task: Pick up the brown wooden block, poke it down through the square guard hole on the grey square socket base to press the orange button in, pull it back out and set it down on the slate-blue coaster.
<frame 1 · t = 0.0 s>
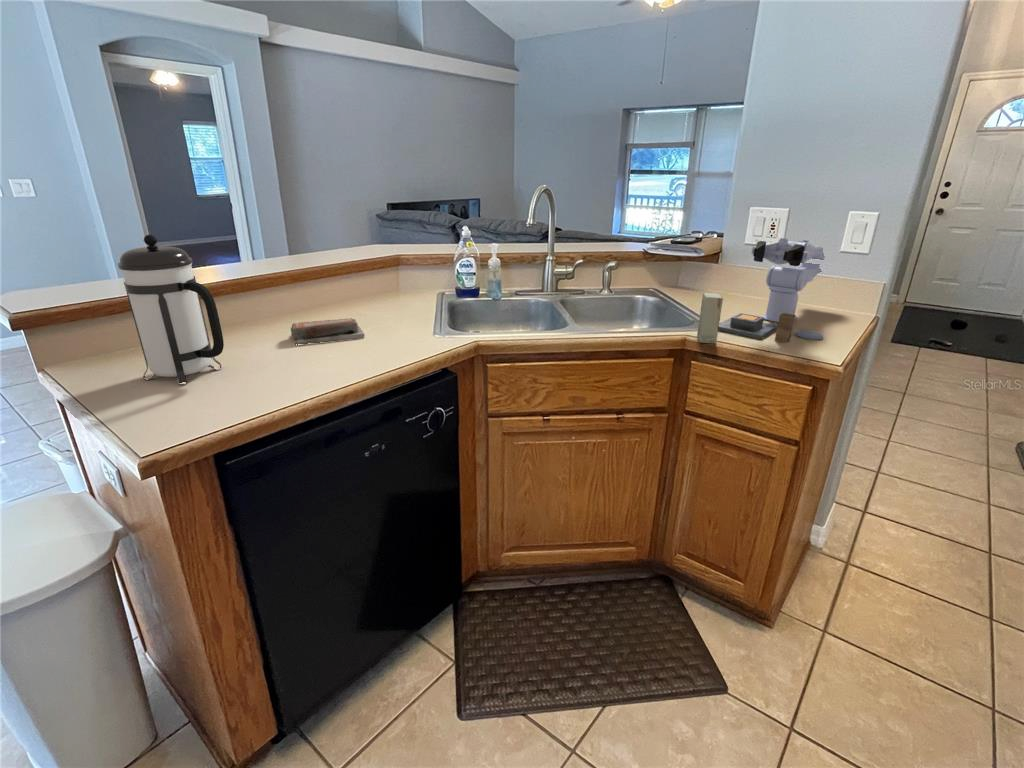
hand: (769, 254, 140), 22 cm above the table, tool horizontal, fingers open, 7 cm apart
orange button: (747, 319, 150), point 3 cm above the table, slide at 0.0 cm
brown wooden block: (782, 340, 142), on the table
coaster: (808, 336, 146), on the table
grey square socket base: (745, 329, 151), on the table
coffee press: (190, 375, 117), on the table
packaged product: (328, 339, 143), on the table
skincare box: (706, 340, 142), on the table
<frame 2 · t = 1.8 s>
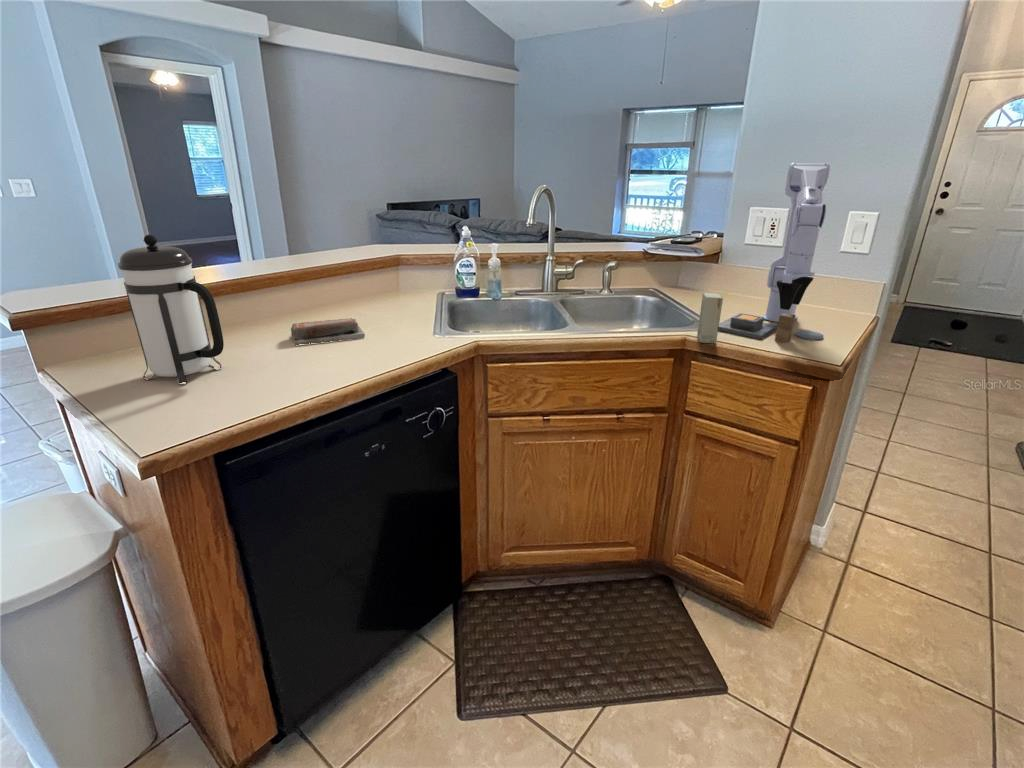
hand: (789, 306, 139), 9 cm above the table, tool pointing down, fingers open, 7 cm apart
nothing on the table moved.
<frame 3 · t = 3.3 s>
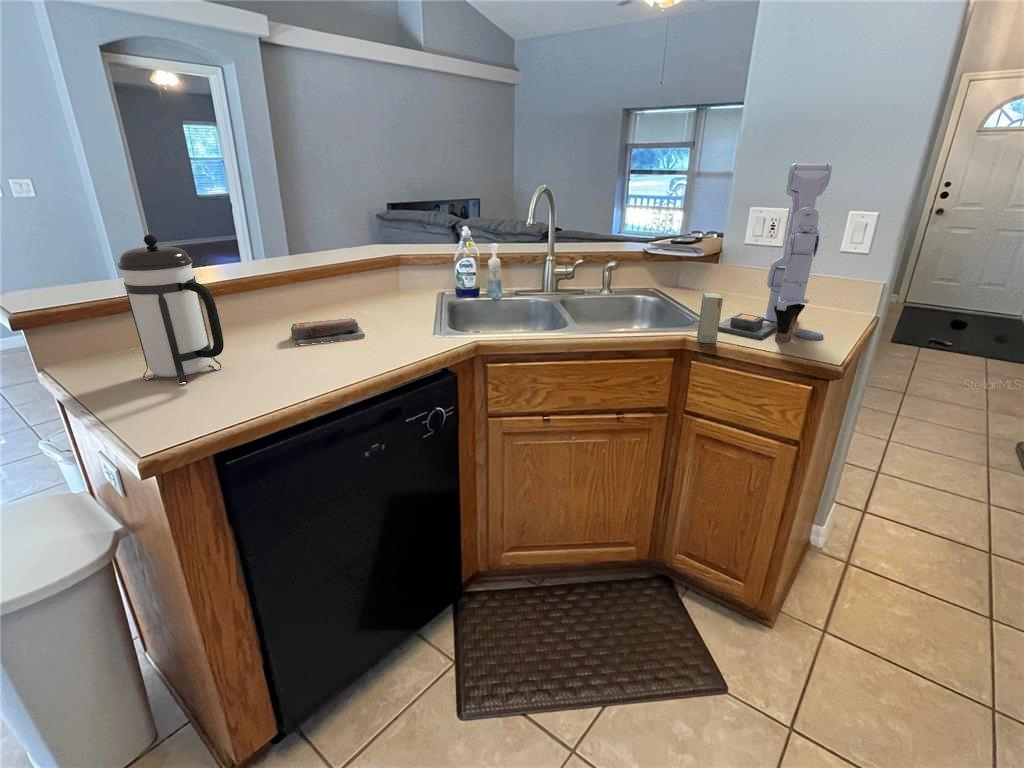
hand: (784, 331, 141), 2 cm above the table, tool pointing down, fingers closed on brown wooden block, 3 cm apart
brown wooden block: (782, 340, 142), on the table, touching gripper
everything else where it was.
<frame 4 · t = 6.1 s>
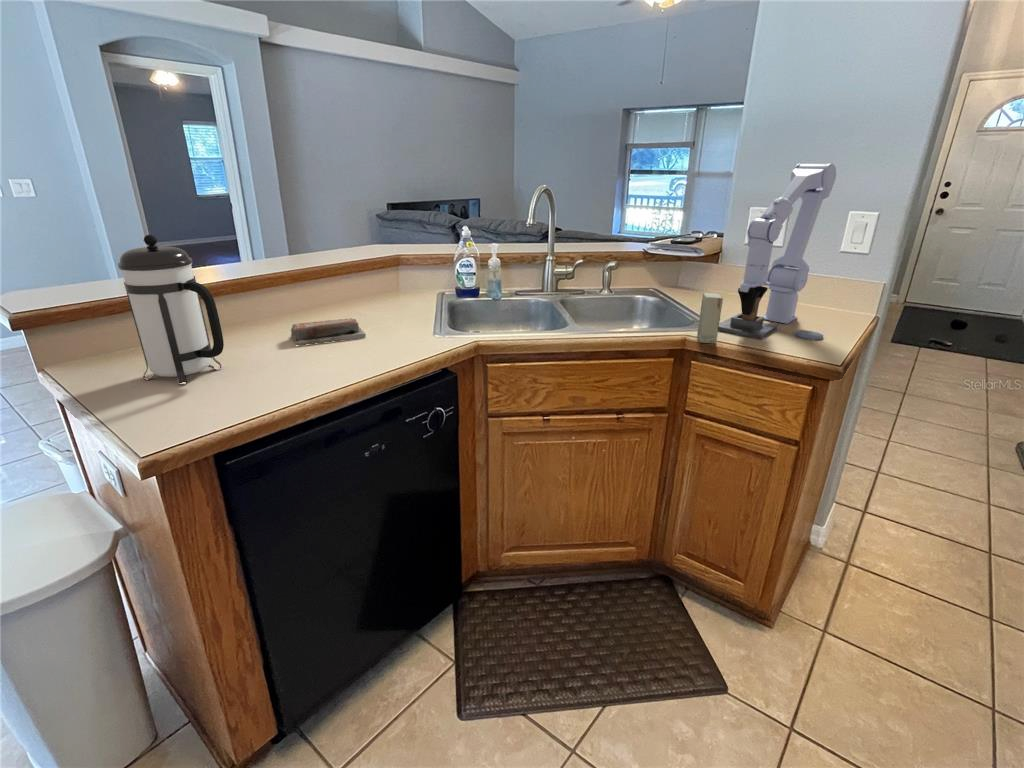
hand: (748, 313, 149), 5 cm above the table, tool pointing down, fingers closed on brown wooden block, 3 cm apart
orange button: (746, 323, 151), point 2 cm above the table, slide at 1.1 cm, touching brown wooden block
brown wooden block: (748, 321, 150), point 2 cm above the table, touching gripper, orange button
everything else where it was.
when the fingers open (5 cm above the table, at t = 9.5 s): brown wooden block drops 2 cm, resting on coaster.
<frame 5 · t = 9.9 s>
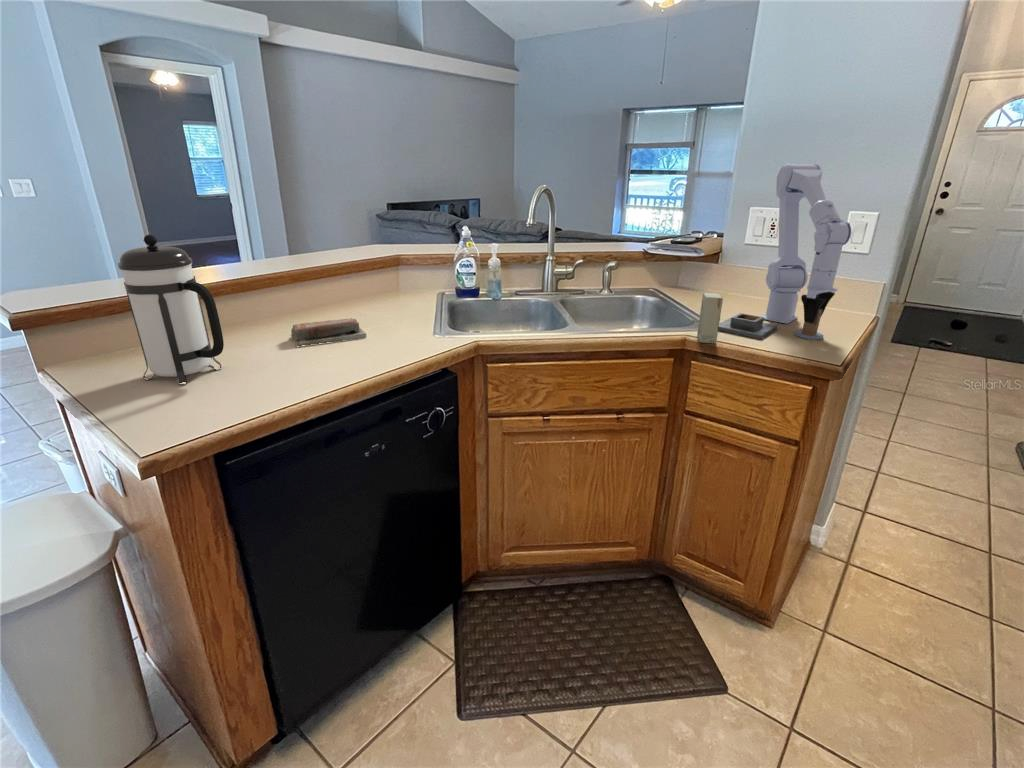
hand: (812, 319, 144), 5 cm above the table, tool pointing down, fingers open, 6 cm apart
orange button: (746, 323, 151), point 2 cm above the table, slide at 1.1 cm
brown wooden block: (809, 334, 146), point 1 cm above the table, touching coaster
everything else where it was.
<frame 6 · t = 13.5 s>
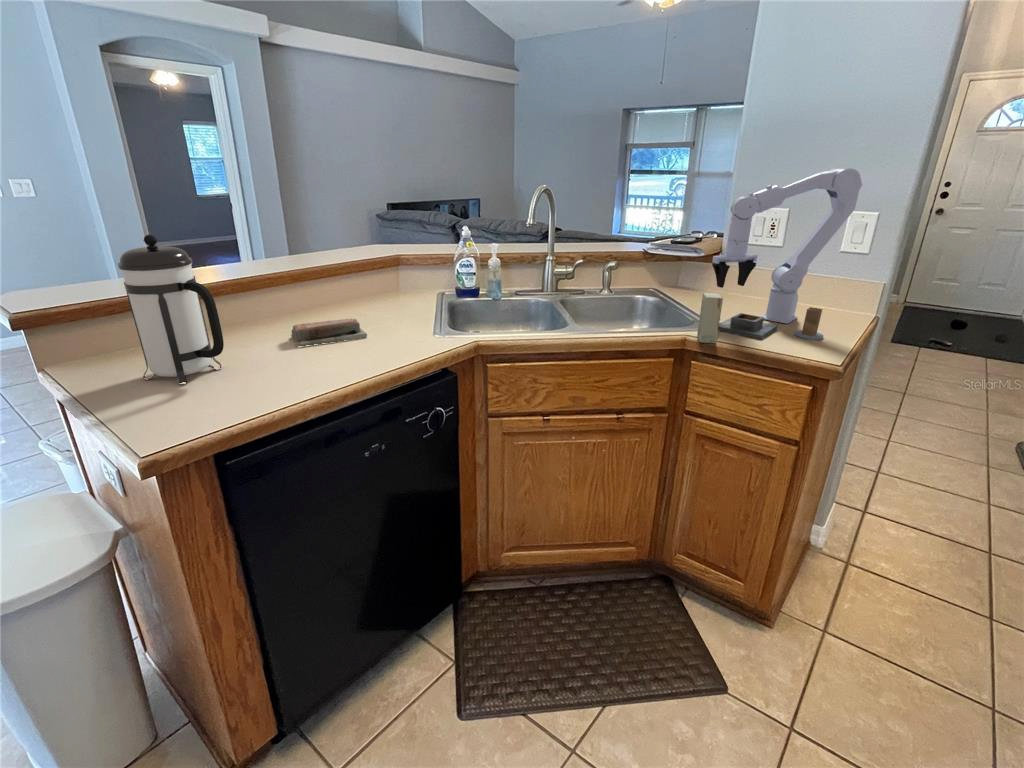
hand: (730, 286, 161), 9 cm above the table, tool pointing down, fingers open, 7 cm apart
nothing on the table moved.
at the end: orange button slide at 1.1 cm; brown wooden block 0.0 cm off-centre on the coaster, point 0.6 cm above the coaster's base; brown wooden block tilted 0° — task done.
